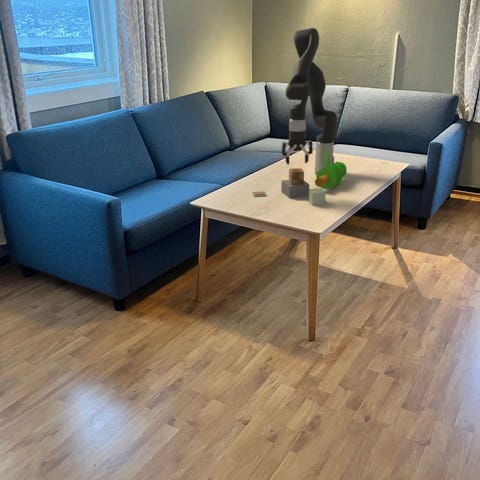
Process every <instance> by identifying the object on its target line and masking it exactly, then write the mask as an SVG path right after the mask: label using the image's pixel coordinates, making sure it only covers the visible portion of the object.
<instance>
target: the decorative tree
mask: <svg viewBox="0 0 480 480" xmlns="http://www.w3.org/2000/svg"><path fill="white" fill-rule="evenodd" d="M347 169H348V168H347V165H346V164H345V163H344V162H341V161H334V163H333V164H332V165H331V164H329V165H327V166H325V167H324V168H321V169H320V170H319V171H318V172H317V174H315V176H316V179H315V180H314V185H315V186H316V187H318V188H322V189H325V190H331V189H332V188H333V187H335V186H337V185H339V184H340V183H341V182H342V181H343V177H344V176H346V175H347Z"/></svg>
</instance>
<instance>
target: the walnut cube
mask: <svg viewBox="0 0 480 480" xmlns="http://www.w3.org/2000/svg"><path fill="white" fill-rule="evenodd" d="M288 180H289V182H290V184H291V185H296V184H304V181H305V171H304V169H303V168H302V167H301V168H299V167H297V168H289V169H288Z"/></svg>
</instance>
